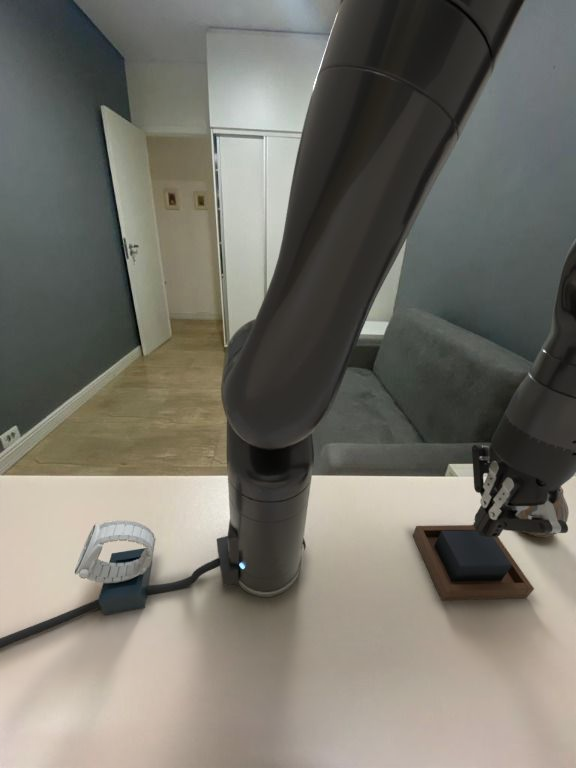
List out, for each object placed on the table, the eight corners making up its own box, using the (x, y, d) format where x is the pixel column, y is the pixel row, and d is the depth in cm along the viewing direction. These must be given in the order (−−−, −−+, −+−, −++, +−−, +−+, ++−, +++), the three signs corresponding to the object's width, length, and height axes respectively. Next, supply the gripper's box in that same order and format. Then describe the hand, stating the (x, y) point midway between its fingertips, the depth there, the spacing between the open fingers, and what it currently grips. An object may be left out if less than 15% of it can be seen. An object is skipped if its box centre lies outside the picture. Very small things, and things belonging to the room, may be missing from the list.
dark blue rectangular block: (451, 581, 41) (460, 566, 39) (433, 545, 45) (441, 530, 43) (501, 580, 41) (512, 565, 39) (479, 545, 45) (488, 530, 44)
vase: (563, 549, 46) (595, 510, 42) (513, 539, 47) (539, 500, 43) (540, 511, 52) (566, 473, 48) (496, 503, 53) (517, 465, 49)
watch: (100, 570, 40) (76, 514, 34) (166, 559, 41) (153, 504, 36) (85, 619, 35) (55, 563, 30) (160, 604, 37) (144, 549, 31)
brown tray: (441, 600, 39) (446, 591, 38) (412, 534, 47) (416, 525, 46) (527, 597, 40) (534, 588, 39) (484, 533, 48) (489, 524, 47)
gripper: (476, 388, 37) (432, 490, 45) (570, 470, 25) (487, 586, 34) (535, 390, 37) (480, 491, 46) (653, 472, 26) (551, 585, 34)
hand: (483, 531), depth 40 cm, fingers closed
